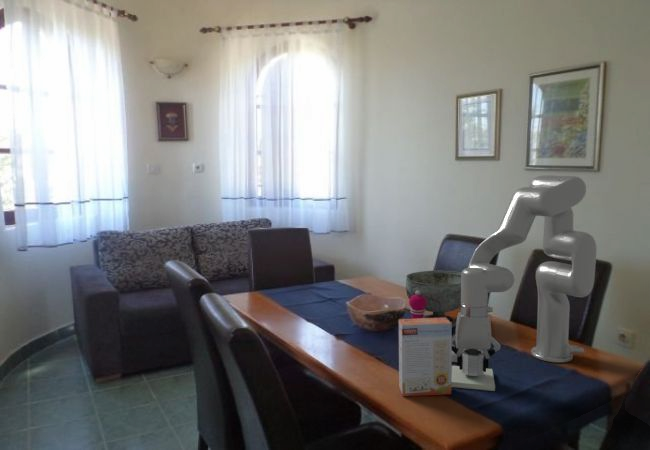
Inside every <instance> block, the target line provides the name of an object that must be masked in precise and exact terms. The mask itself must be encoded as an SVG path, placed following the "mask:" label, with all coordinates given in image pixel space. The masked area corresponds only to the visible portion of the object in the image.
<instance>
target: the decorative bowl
mask: <svg viewBox="0 0 650 450" xmlns="http://www.w3.org/2000/svg"><path fill="white" fill-rule="evenodd" d="M461 273H462V271H455V270H454V271H453V270H439V269H438V270H423V271H416V272H411V273H408V274H406V276H405V277H406V281H405V285H406V286H405V291H406V296H407V297H408V300H410V298H411V297H412V296H413V295H416V294H415V292H416V291H420V295H422V296H424V297H425V299H426V306H425V307H424V309H425V312H430V313H432V314H427V315H425V316H423V318H447V319H448V320H449V321H450V322H451V323H452V328H454V327H456V320H455V319H454V318H453V316H450V315H446V314H445V313H447V312H448V313H450V312H452V311H456V310H458V309H461Z"/></svg>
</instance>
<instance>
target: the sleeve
mask: <svg viewBox="0 0 650 450" xmlns="http://www.w3.org/2000/svg"><path fill="white" fill-rule="evenodd" d="M483 367H484V353H483V350H479V349H466V348H464V349H463V351H462V373H465V374H467V375H471V376H479V375H482V374H484V371H483Z"/></svg>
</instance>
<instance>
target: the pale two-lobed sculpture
mask: <svg viewBox="0 0 650 450" xmlns="http://www.w3.org/2000/svg"><path fill="white" fill-rule="evenodd" d="M455 346H456V345H455ZM456 347H457V346H456ZM457 348H458V347H457ZM452 363H456V364H457V355H456V354H455V353H454V352H453V351H452Z"/></svg>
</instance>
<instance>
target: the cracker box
mask: <svg viewBox="0 0 650 450" xmlns="http://www.w3.org/2000/svg"><path fill="white" fill-rule="evenodd" d="M452 328H453V327H452V323H451V322H450V321H449V320H448V319H447V318H418V319H412V318H399V319H398V379H399V380H398V384H399V386H398V387H399V390H400V394H401V395H402V397H419V396H440V395H441V396H445V395H452V387H451V378H452V366H453V365H452V363H453V362H452V344H453V342H452V336H453V335H452V334H453V333H452V330H453V329H452Z"/></svg>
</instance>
